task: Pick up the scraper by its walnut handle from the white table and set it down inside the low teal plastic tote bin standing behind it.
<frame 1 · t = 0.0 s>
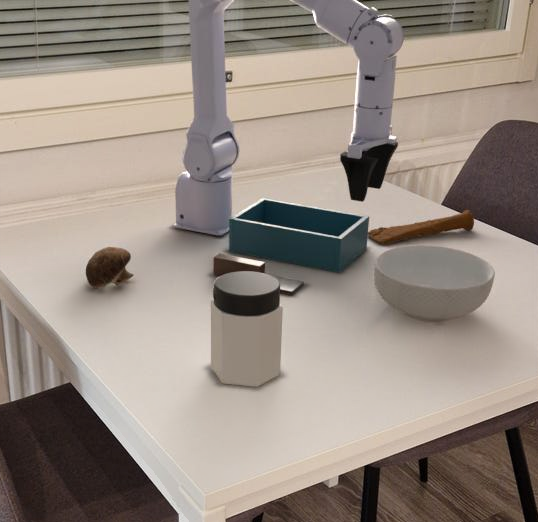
hand: (365, 193, 153), 10 cm above the table, tool pointing down, fingers open, 7 cm apart
mushroom: (109, 286, 146), on the table
primitive tool: (421, 236, 168), on the table
jar: (245, 373, 123), on the table
scraper: (256, 281, 148), on the table
bin: (298, 249, 160), on the table
cereal bowl: (428, 312, 140), on the table
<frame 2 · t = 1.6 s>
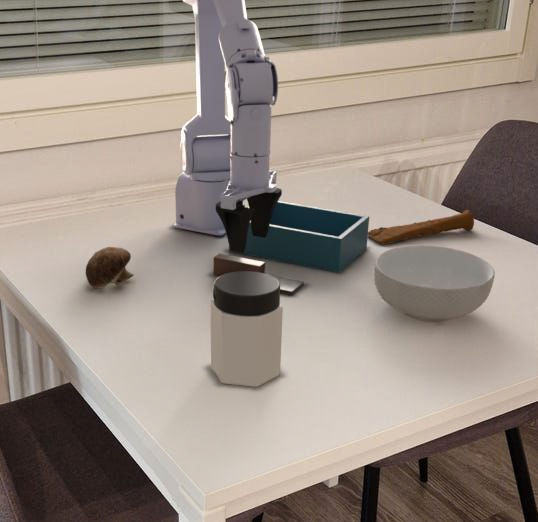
hand: (248, 243, 145), 6 cm above the table, tool pointing down, fingers open, 7 cm apart
nothing on the table moved.
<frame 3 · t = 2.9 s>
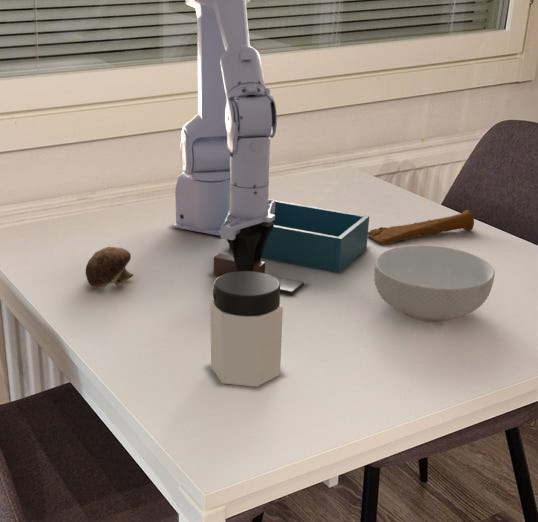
hand: (247, 271, 148), 1 cm above the table, tool pointing down, fingers closed on scraper, 2 cm apart
scraper: (256, 281, 148), on the table, touching gripper
everything else where it was.
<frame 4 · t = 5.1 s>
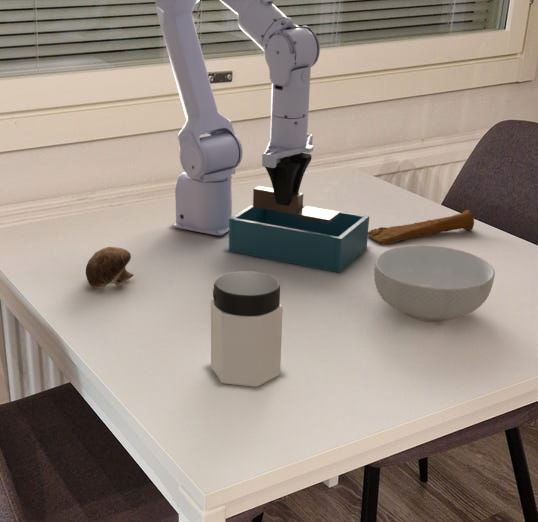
hand: (286, 202, 154), 8 cm above the table, tool pointing down, fingers closed on scraper
scraper: (294, 212, 155), point 7 cm above the table, touching gripper
everything else where it was.
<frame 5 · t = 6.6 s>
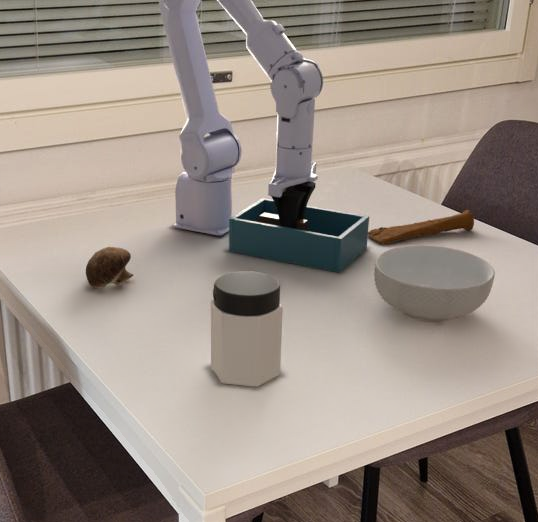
hand: (290, 228, 159), 3 cm above the table, tool pointing down, fingers closed on scraper, 2 cm apart
scraper: (299, 238, 159), point 2 cm above the table, touching gripper
everything else where it was.
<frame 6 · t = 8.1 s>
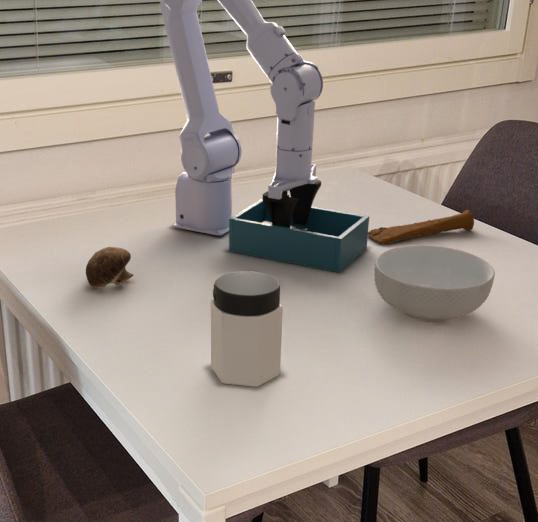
hand: (290, 230, 159), 3 cm above the table, tool pointing down, fingers open, 7 cm apart
scraper: (298, 246, 160), resting on bin
everything else where it was.
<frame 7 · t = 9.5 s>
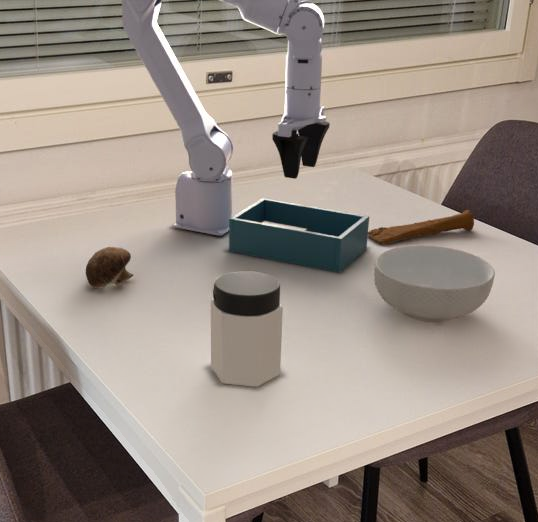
hand: (300, 171, 162), 10 cm above the table, tool pointing down, fingers open, 7 cm apart
nothing on the table moved.
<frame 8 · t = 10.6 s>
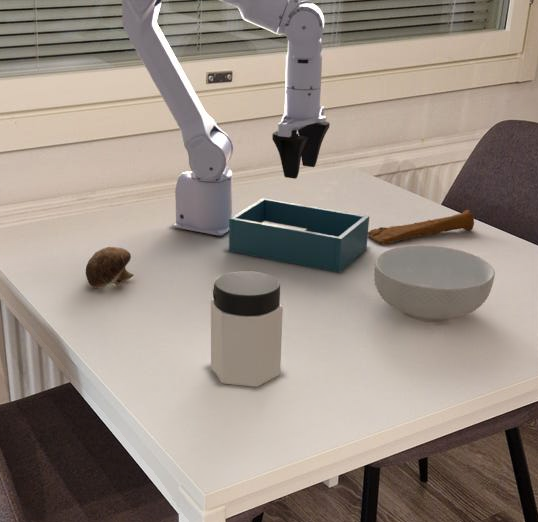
hand: (300, 171, 162), 10 cm above the table, tool pointing down, fingers open, 7 cm apart
nothing on the table moved.
at the end: scraper inside the target area in the bin (0.1 cm from its centre), point 0.5 cm above the bin's base; the gripper is holding nothing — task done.
